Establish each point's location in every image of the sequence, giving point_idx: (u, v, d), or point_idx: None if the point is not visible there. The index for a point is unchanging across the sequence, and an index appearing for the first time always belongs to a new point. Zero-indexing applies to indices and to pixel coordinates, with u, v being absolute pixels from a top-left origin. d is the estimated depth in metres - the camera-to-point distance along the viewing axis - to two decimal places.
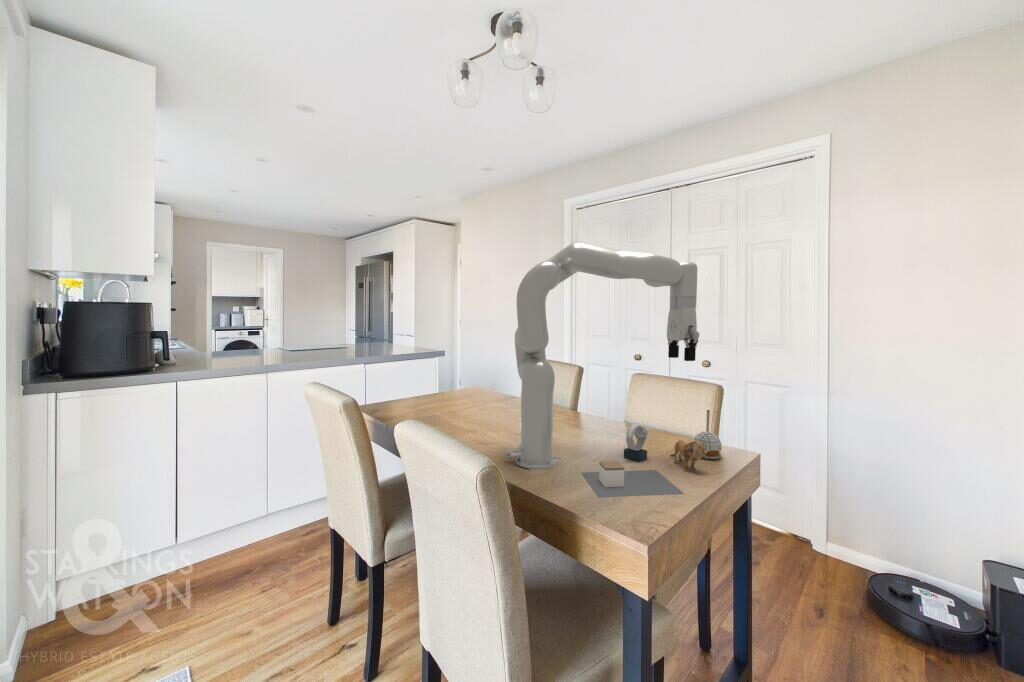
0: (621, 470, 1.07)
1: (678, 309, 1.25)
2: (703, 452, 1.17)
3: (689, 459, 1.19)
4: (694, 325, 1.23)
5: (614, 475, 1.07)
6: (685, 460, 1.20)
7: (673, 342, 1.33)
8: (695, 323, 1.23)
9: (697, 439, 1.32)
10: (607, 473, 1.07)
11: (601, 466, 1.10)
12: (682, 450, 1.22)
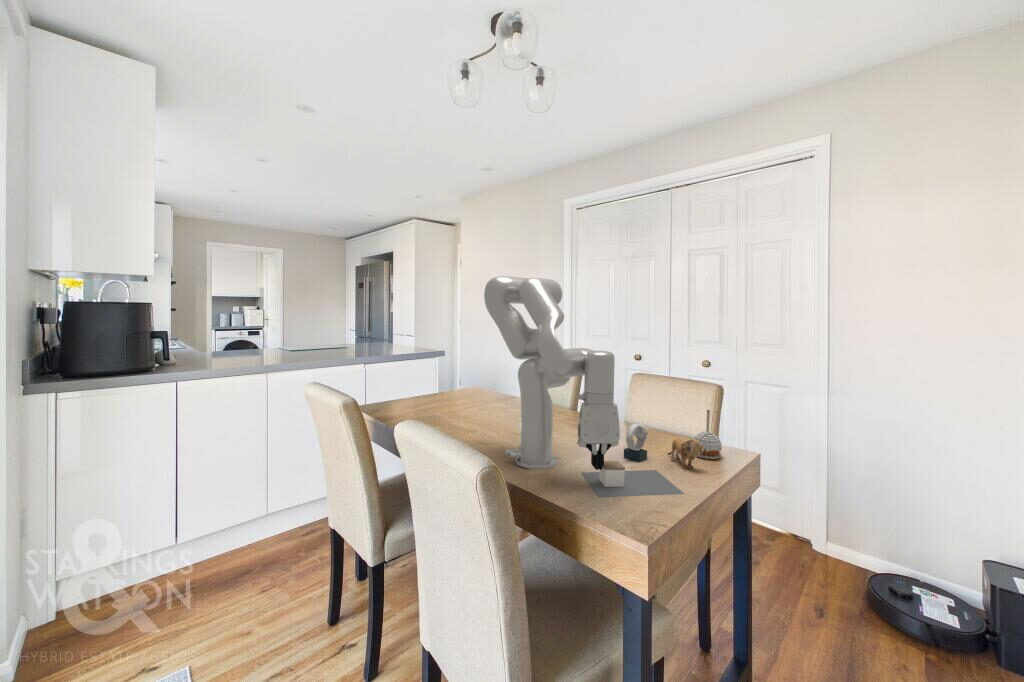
0: (621, 470, 1.07)
1: (610, 407, 1.06)
2: (700, 450, 1.19)
3: (686, 457, 1.20)
4: None
5: (614, 475, 1.07)
6: (682, 458, 1.21)
7: None
8: None
9: (697, 439, 1.32)
10: (608, 473, 1.07)
11: None
12: (679, 448, 1.23)
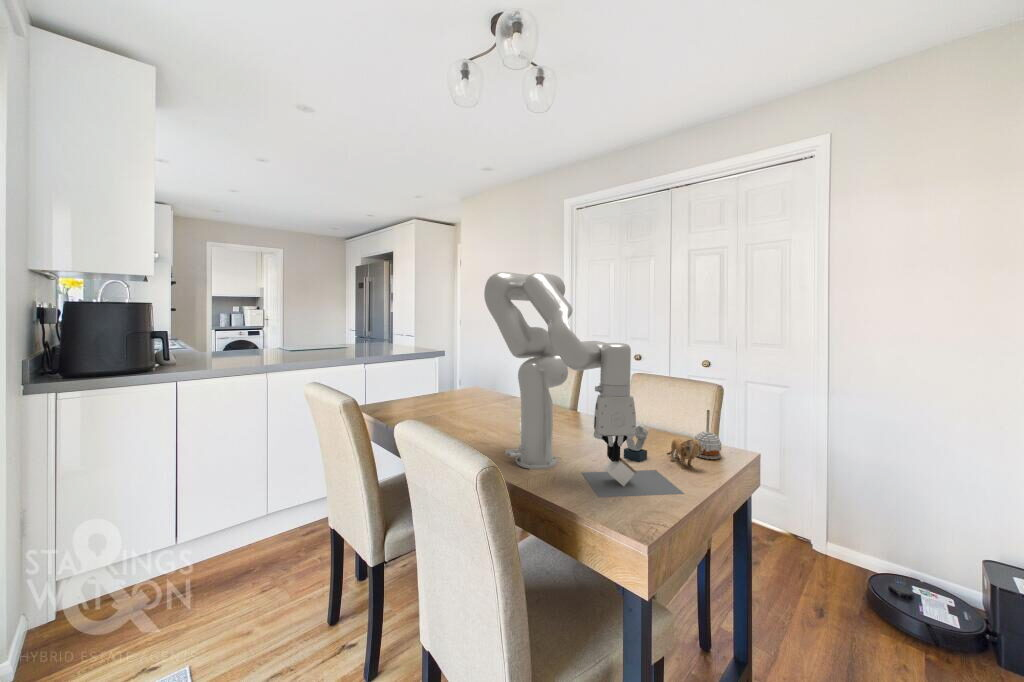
0: (632, 472, 1.07)
1: (626, 399, 1.06)
2: (700, 450, 1.19)
3: (686, 457, 1.20)
4: None
5: (624, 471, 1.07)
6: (682, 458, 1.22)
7: None
8: None
9: (697, 439, 1.32)
10: (620, 465, 1.07)
11: None
12: (679, 448, 1.24)
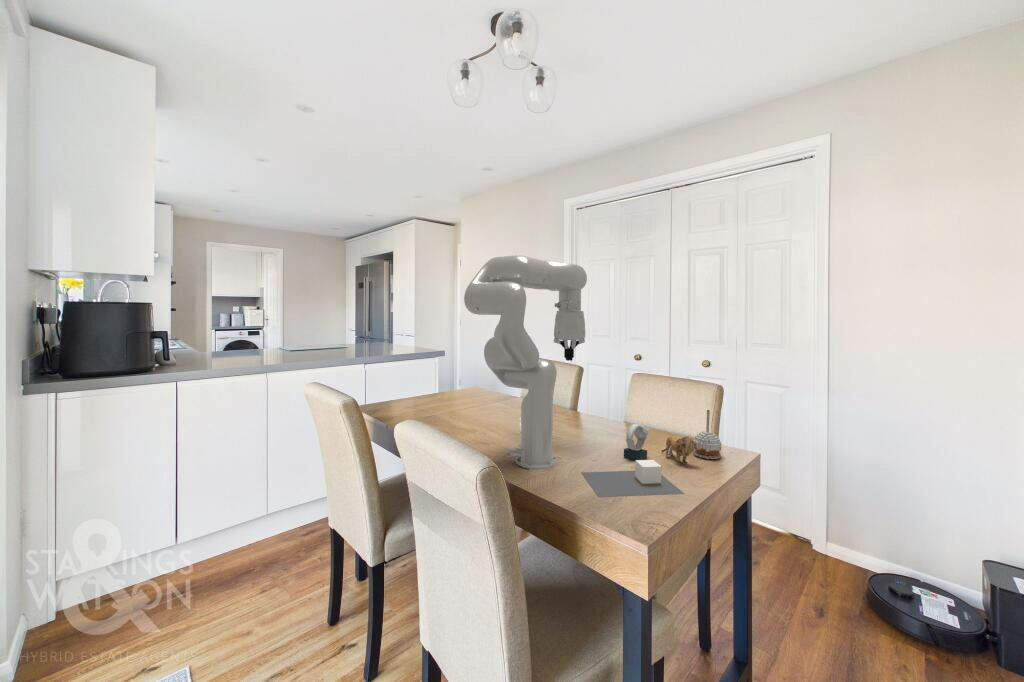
0: (645, 483, 1.08)
1: (577, 312, 1.40)
2: (695, 447, 1.22)
3: (681, 454, 1.23)
4: None
5: (652, 478, 1.08)
6: (677, 455, 1.24)
7: None
8: None
9: (697, 439, 1.32)
10: (658, 479, 1.08)
11: None
12: (674, 445, 1.26)
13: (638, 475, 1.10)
